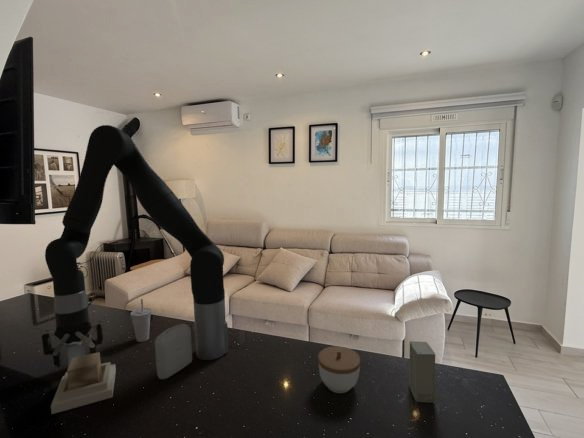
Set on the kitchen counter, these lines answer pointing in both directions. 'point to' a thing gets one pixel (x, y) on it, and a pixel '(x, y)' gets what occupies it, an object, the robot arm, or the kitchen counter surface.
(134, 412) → the kitchen counter surface
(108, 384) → the cream base
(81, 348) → the grey post
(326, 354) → the lidded jar
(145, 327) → the smoothie
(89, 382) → the oak block
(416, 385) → the skincare box
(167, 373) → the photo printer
